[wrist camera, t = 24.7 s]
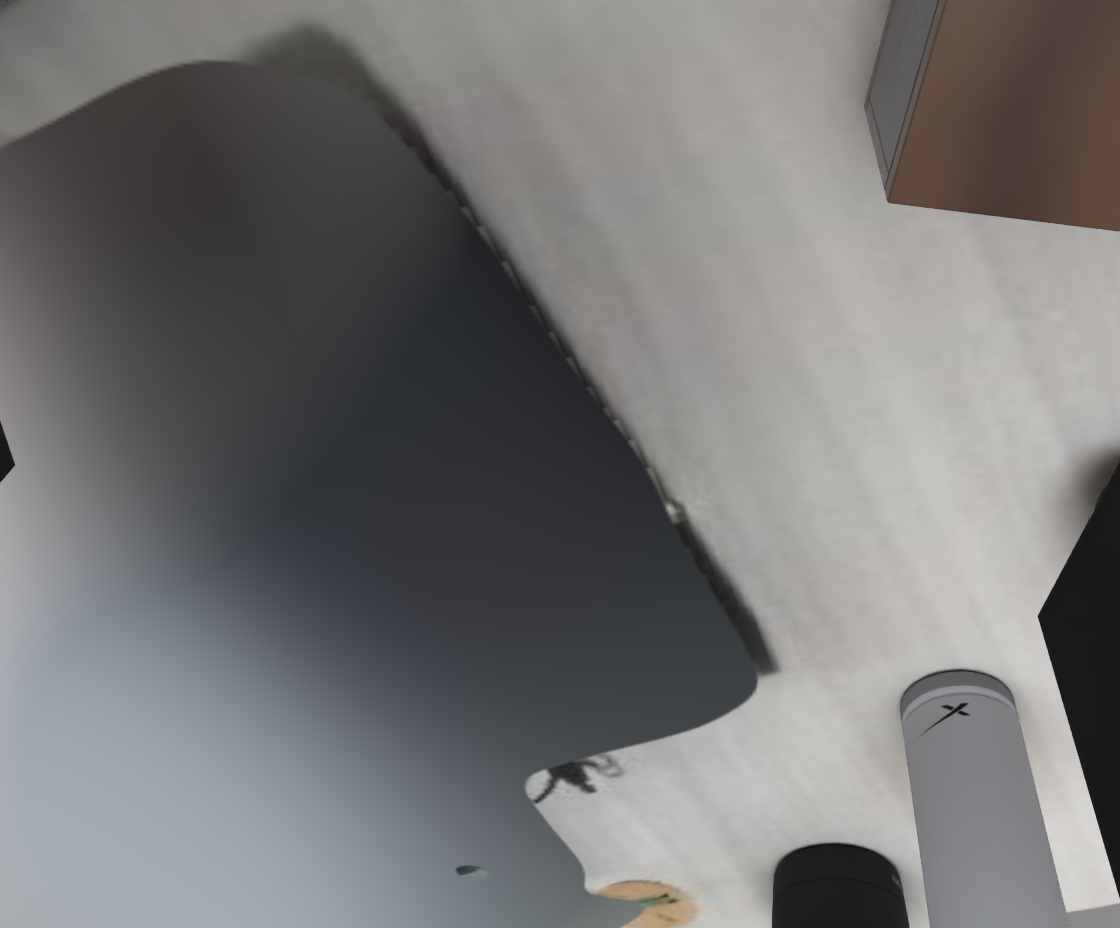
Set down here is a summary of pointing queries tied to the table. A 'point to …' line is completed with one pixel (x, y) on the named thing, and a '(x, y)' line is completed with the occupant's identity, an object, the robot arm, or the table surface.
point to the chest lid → (1016, 113)
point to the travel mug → (977, 807)
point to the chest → (896, 75)
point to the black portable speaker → (837, 890)
